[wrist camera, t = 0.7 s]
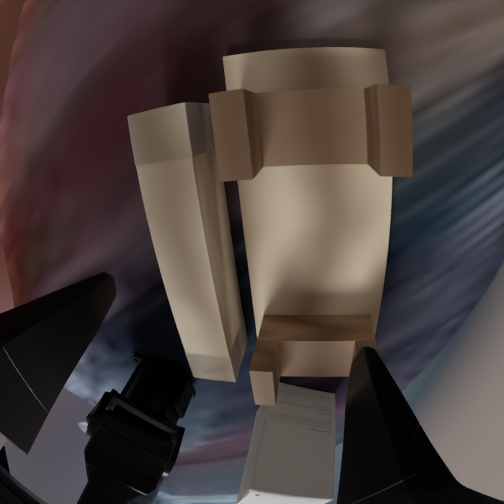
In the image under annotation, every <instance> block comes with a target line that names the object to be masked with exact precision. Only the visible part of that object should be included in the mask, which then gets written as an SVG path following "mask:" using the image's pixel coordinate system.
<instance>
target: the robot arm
mask: <svg viewBox="0 0 504 504" xmlns="http://www.w3.org/2000/svg"><path fill="white" fill-rule="evenodd" d="M115 297H116V285H115V278H114V276H113V275H112V274H109V273H106V272H103V273H100V274H97V275H95V276H92V277H90V278H87V279H84V280H82V281H79V282H77V283H74V284H72V285H69V286H67V287H64V288H62V289H59V290H57V291H54V292H52V293H50V294H47V295H45V296H42V297H40V298H37V299H35V300H33V301H30V302H28V303H27V304H23V305H21V306H18V307H16V308H13V309H11V310H9V311H6V312H3V313H0V504H47V503H46V502H45V501H43V500H42V499H41V498H39V497H38V496H37V495H35V494H34V493H33V492H31V491H30V490H29V489H28V488H26V487H25V486H24V485H23V484H21V483H20V482H19V481H18V480H17V479H15V478H14V477H13V476H12V475H11V474H10V471H9V466H8V462H7V457H6V452H5V447H4V446H3V445H4V443H5V442H6V440H7V439H8V440H9V441H11V442H12V443H13V444H14V445H15V446H17V447H18V448H19V449H20V450H22V451H23V452H24V453H25V454H28V452H29V451H30V449H31V446H32V445H33V443H34V441H35V439H36V437H37V435H38V433H39V431H40V429H41V427H42V425H43V423H44V421H45V419H46V417H47V416H48V413H49V412H50V410H51V408H52V406H53V404H54V402H55V401H56V399H57V397H58V396H59V394H60V392H61V390H62V389H63V387H64V385H65V383H66V382H67V380H68V378H69V377H70V375H71V373H72V372H73V370H74V368H75V367H76V365H77V363H78V362H79V360H80V358H81V357H82V355H83V354H84V352H85V350H86V349H87V347H88V346H89V344H90V343H91V341H92V339H93V338H94V336H95V335H96V333H97V332H98V330H99V328H100V326H101V325H102V323H103V321H104V319H105V317H106V315H107V313H108V311H109V309H110V307H111V305H112V303H113V302H114V300H115ZM132 360H133V362H134V364H135V366H136V369H135V371H134V372H133V374H132V375H131V377H130V379H129V380H128V382H127V384H126V385H125V387H124V389H123V390H122V392H121V394H119V393H118V392H117V391H116V390H114V389H112V391H111V392H105V393H104V395H103V396H102V398H101V399H100V401H99V402H98V404H97V405H96V406H95V407H94V408H93V410H92V411H91V412H90V413H89V414H88V416H87V418H86V420H87V423H88V426H87V428H88V429H87V432H86V435H88V436H89V437H91V438H90V440H89V442H88V444H87V445H86V447H85V450H84V454H85V463H86V470H87V477H88V482H87V484H86V486H85V488H84V490H83V492H82V494H81V496H80V499H79V500H78V502H77V504H129V503H130V502H132V501H133V500H135V499H137V498H139V497H141V496H143V495H147V494H149V493H151V492H152V491H153V490H155V488H156V487H157V485H158V483H159V481H160V479H161V477H162V476H163V477H166V476H167V475H168V474H169V473H170V471H171V470H172V468H173V466H174V464H175V462H176V459H177V456H178V453H179V449H180V446H181V442H182V438H183V435H184V431H185V428H183V427H181V426H180V427H179V426H177V425H176V424H177V422H178V419H179V418H181V419H182V418H183V417H184V415H185V412H186V410H187V408H188V405H189V403H190V400H191V399H194V397H195V394H194V391H193V388H192V386H191V383H190V381H189V379H188V376H187V374H186V371H185V369H184V366H183V364H182V363H180V362H178V361H171V360H164V359H158V358H151V357H146V356H140V355H134V356H133V357H132ZM337 504H504V501H501V500H498V499H495V498H492V497H490V496H487V495H484V494H482V493H479V492H477V491H474V490H472V489H469V488H467V487H465V486H463V485H462V484H460V483H459V482H458V481H457V480H456V479H455V477H454V476H453V475H452V473H451V472H450V470H449V469H448V467H447V466H446V465H445V463H444V461H443V460H442V459H441V457H440V456H439V454H438V453H437V451H436V450H435V448H434V447H433V445H432V444H431V442H430V440H429V439H428V437H427V435H426V434H425V432H424V430H423V428H422V427H421V425H420V424H419V421H418V420H417V418H416V416H415V415H414V413H413V411H412V409H411V408H410V406H409V404H408V402H407V401H406V399H405V397H404V396H403V394H402V392H401V391H400V389H399V387H398V386H397V384H396V382H395V381H394V379H393V377H392V376H391V374H390V372H389V371H388V369H387V368H386V366H385V364H384V363H383V361H382V360H381V358H380V356H379V355H378V353H377V352H376V350H375V349H374V348H373V347H368V346H363V347H361V349H360V350H359V352H358V353H357V355H356V357H355V358H354V360H353V362H352V365H351V371H350V378H349V385H348V392H347V398H346V407H345V424H344V439H343V452H342V463H341V473H340V481H339V490H338V497H337Z"/></svg>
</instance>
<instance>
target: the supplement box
mask: <svg viewBox="0 0 504 504" xmlns="http://www.w3.org/2000/svg"><path fill="white" fill-rule="evenodd" d="M335 433H336V415H335V394H334V393H328V392H323V391H318V390H313V389H308V388H303V387H298V386H294V385H289V384H285V383H281V382H279V388H278V394H277V400H276V406H271V405H260V406H259V408H258V410H257V412H256V418H255V423H254V428H253V432H252V437H251V442H250V446H249V451H248V455H247V460H246V464H245V468H244V473H243V477H242V481H241V486H240V490H239V494H238V499H237V504H325V503H327V502H329V501H331V500H333V499H334V469H335Z"/></svg>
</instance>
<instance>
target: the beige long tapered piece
mask: <svg viewBox="0 0 504 504" xmlns="http://www.w3.org/2000/svg"><path fill="white" fill-rule="evenodd" d="M223 63H224V72H225V80H226V89H227V91H222V92H216V93H210V94H209V103H210V111H211V119H212V127H213V135H214V142H215V150H216V158H217V165H218V172H219V180H220V182H224V181H238V189H239V197H240V205H241V213H242V221H243V229H244V237H245V245H246V253H247V261H248V269H249V277H250V285H251V293H252V301H253V309H254V316H255V324H256V332H257V343H256V347H255V351H254V355H253V358H252V362H251V366H250V370H249V372H250V377H251V383H252V389H253V394H254V400H255V404H257V405H271V406H276V400H277V394H278V388H279V381H280V376H294V377H348V376H349V378H350V371H351V365H352V362H353V360H354V358H355V357H356V355H357V353H358V352H359V350H360V349H361V347H363V346H368V347H373V348H374V349H375V350H376V352H377V353H378V351H377V346H376V340H375V333H376V328H377V323H378V317H379V311H380V305H381V299H382V293H383V286H384V278H385V271H386V262H387V253H388V243H389V232H390V219H391V201H392V177H412V167H413V133H412V108H411V93H410V86H402V85H390V84H389V79H388V70H387V61H386V54H385V49H373V48H352V47H313V48H292V49H279V50H268V51H259V52H251V53H244V54H237V55H231V56H225V57H223Z"/></svg>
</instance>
